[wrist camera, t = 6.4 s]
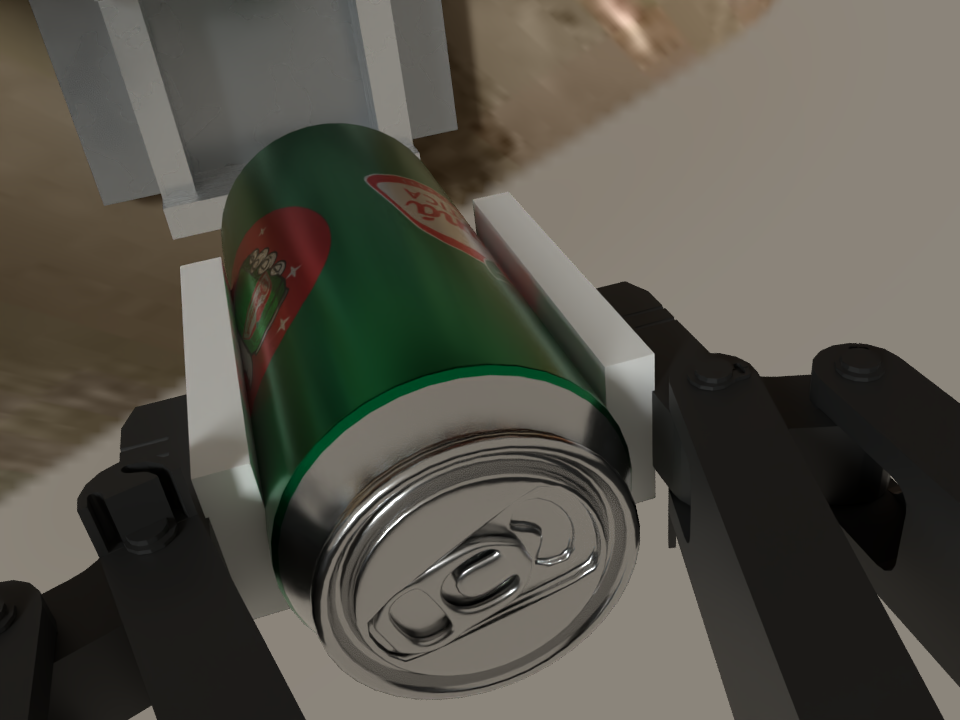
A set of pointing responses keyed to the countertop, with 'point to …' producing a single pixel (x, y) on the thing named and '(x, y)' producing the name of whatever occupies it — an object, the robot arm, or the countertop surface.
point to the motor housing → (236, 85)
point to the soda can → (415, 427)
